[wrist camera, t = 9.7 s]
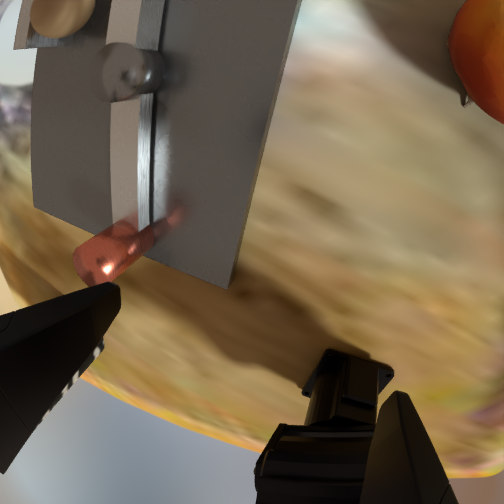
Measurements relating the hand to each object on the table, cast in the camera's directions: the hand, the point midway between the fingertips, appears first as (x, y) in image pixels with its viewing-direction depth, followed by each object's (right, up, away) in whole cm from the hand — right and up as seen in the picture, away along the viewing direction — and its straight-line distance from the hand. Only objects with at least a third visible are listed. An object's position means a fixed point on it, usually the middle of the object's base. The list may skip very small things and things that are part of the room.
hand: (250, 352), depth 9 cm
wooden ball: (-12, +22, +8) cm, 26 cm away
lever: (-8, +11, +11) cm, 17 cm away
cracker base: (-9, +13, +12) cm, 20 cm away
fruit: (+14, +14, +3) cm, 20 cm away
